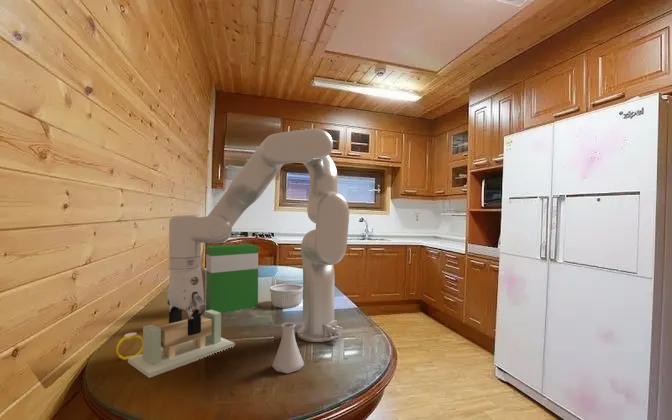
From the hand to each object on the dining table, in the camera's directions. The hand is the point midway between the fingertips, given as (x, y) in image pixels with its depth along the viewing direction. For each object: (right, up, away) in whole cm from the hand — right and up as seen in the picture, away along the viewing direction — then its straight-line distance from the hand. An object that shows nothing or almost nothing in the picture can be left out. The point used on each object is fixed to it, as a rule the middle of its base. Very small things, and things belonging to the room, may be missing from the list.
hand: (184, 329), depth 85 cm
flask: (+28, -7, -7) cm, 29 cm away
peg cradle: (0, -6, 0) cm, 6 cm away
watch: (-13, -7, -2) cm, 14 cm away
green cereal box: (-1, -7, +41) cm, 42 cm away
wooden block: (-8, -7, +22) cm, 24 cm away
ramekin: (+19, -7, +47) cm, 51 cm away
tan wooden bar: (0, -2, 0) cm, 2 cm away
